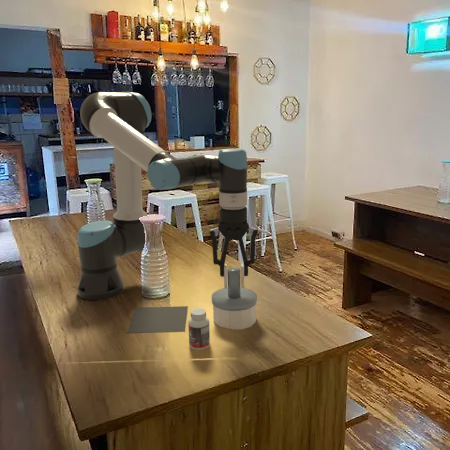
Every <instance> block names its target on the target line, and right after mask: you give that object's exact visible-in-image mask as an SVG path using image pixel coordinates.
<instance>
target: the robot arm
mask: <svg viewBox="0 0 450 450" xmlns="http://www.w3.org/2000/svg"><path fill="white" fill-rule="evenodd" d="M79 112H80V113H79V115H80V120H81V123H82V125H83V126H84V128H85V129H86V130H87V131H88V132H89V133H91V134H92V135H93V136H94V137H95V138H98V139H103V140H104V141H106V142H107V143H109V144H110V145H112V147H113V153H114V155H113V158H114V173H115V175H114V176H115V177H114V178H115V194H116V211H115V212H114V214H113V215H112V221H110V220H99V221H97V220H96V221H91V222H89V223H86V224H84V225H82V226H81V227H80V228H79V229H78V232H77V242H76V243H77V246H78V254H79V256H78V257H79V264H80V275H79V280H78V285H77V295H78V297H79V299H80V298H81V299H82V300H87V301H100V300H101V301H102V300H107V299H110V298H114V297H117V296H119V295H120V294H122V293H123V292H124V290H125V283H124V280H123V277H122V275H121V273H120V272H119V271H120V270H119V269H118V264H117V258H120V257H123V256H126V255H131V254H133V253H137V252H141V251H143V250H144V249H143V248H144V244H145V233H144V227H143V224H142V223H141V222H140V220H139V218H140V217H143V216H147V217H148V213H147V212H146V211H144V209H143V188H142V187H143V185H142V170H143V171H145V173H147V174H146V175H147V181H148V182H150V185H151V187H152V188H153V189H155V190H157V191H159V190H160V191H162V190H163V191H164V190H172V189H177V188H180V187H185V186H191V185H196V184H201V183H215V184H218V187H219V188H218V193H219V194H218V195H219V196H218V197H219V201H218V202H219V206H220V208H219V224H218V225H217V227H215V228H210V229H209V235H210V237H211V242H212V243H211V245H212V258H213V265H217V266H219V276H220V277H222V278H223V280H224V281H223V285H224V287H223V288H224V289H227V288H228V267H227V266H228V265H227V263H226V258H227V254H228V249H229V244H230V241H237V242H238V244H239V245H238V246H239V248H240V253H241V258H242V263H240V287H241V288H245V277H248V275H249V265H251V264H252V265H253V264H255V262H256V238H257V235H258V234H259V233H258V232H259V231H258V229H257V227H252V226H250V224H249V223H248V208H247V207H246V206H247V205H248V187H247V186H248V184H247V183H248V168H249V167H248V165H249V164H248V157H247V151H246V150H245V149H243V148H223V149H220V150H219V151H218V155H215V154H214V155H213V154H205V153H202V152H201V153H192V154H190V155H189V156H183V157H174V156H173V155H172V154H170V153H169V152H168V151H165V150H164V149H163V148H162V147H160V146H159V145H158V144H156V143H155V142H153V141H152V140H151V139H149V138H148V137H146V136H145V129H146V128H148V127H149V125H150V123H151V121H152V110H151V106H150V104H149V102H148V100H146V98H145V96H144V95H142V94H140V93H138V92H131V91H121V92H120V91H119V92H118V91H116V92H115V91H113V92H111V91H107V92H106V91H98V92H94V93H92V94H90V95H88V96H87V97H86V98H85V99H84V100H83V102H82V103H81V106H80V111H79ZM219 232H220V233H221V234H220V235H222V236H223V237H224V238H223V244H222V249H221V253H220V257H219V258H218V242H217V240H218V239H217V237H218V236H219ZM247 232H248V234H249V236H250V237H249V238H250V240H249V241H250V243H249V258H248V257H247V253H246V252H247V251H246V249H245V244H244V238H243V237H244V236H245V235H246V234H247Z"/></svg>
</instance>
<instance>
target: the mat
mask: <svg viewBox="0 0 450 450" xmlns="http://www.w3.org/2000/svg"><path fill="white" fill-rule="evenodd" d="M188 309H189V306H188V305H187V306H183V305H182V306H146V307H144V306H143V307H142V306H141V307H135V309H134V311H133V315H132V317H131V320H130V323H129V326H128V328H127V331H126V334H149V333H153V334H154V333H183V332H184V333H185V332H186V326H187V325H186V324H187V318H188V311H189V310H188Z"/></svg>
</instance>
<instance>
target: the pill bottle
mask: <svg viewBox="0 0 450 450" xmlns="http://www.w3.org/2000/svg"><path fill="white" fill-rule="evenodd" d="M187 324H188V325H187V326H188V345H189V347H190V348H191V349H193V350H197V351H199V350H205V349H207V348H208V347H209V346H210V344H211V343H210V319H209V318H208V317H207V311H206V309H205V308H202V307H198V308H197V307H196V308H193V309H191V310H190V318H189V319H188V323H187Z"/></svg>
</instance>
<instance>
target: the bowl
mask: <svg viewBox="0 0 450 450" xmlns="http://www.w3.org/2000/svg"><path fill="white" fill-rule="evenodd" d="M212 305H213V304H212ZM212 311H213V312H212V313H213V317H212V319H213V323H214V324H216V325H217V327H221V328H224V329H228V330H234V331H242V330H245V329H249V328H251V327H252V326H254V324H256V323H257V303H256V304H255V305H254V306H253V307H251V308H249V309H246V310H240V311H227V310H222V309H219V308H217V307H215V306H214V305H213V307H212Z"/></svg>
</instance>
